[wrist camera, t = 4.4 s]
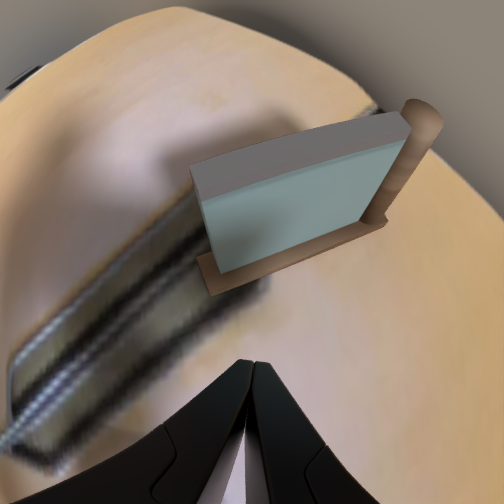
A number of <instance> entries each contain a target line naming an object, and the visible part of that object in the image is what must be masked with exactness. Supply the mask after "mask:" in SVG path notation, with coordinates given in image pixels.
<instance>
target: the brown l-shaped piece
mask: <svg viewBox="0 0 504 504" xmlns="http://www.w3.org/2000/svg"><path fill="white" fill-rule="evenodd" d="M400 115H401V116H402V117H403V118H404V119H405V121H406V122H407V123H408V124H409V125H410V127H411V128H412V130H411V132H410V134H409V136H408V137H407V139H406V141H405V143H404V145H403V146H402V148H401V150H400V152H399V153H398V155H397V157H396V159H395V160H394V162H393V164H392V166H391V167H390V169H389V171H388V173H387V174H386V176H385V178H384V179H383V181H382V183H381V184H380V186H379V188H378V189H377V191H376V193H375V194H374V196H373V198H372V199H371V201H370V203H369V204H368V206H367V207H366V209H365V211H364V212H363V214H362V216H361V217H360V219H359V220H358V221H357V222H354V223H351V224H349V225H346V226H344V227H341V228H339V229H336V230H334V231H331V232H329V233H326V234H324V235H321V236H319V237H316V238H313V239H311V240H308V241H306V242H303V243H301V244H298V245H296V246H293V247H290V248H288V249H285V250H283V251H280V252H278V253H275V254H272V255H270V256H267V257H265V258H262V259H260V260H257V261H254V262H252V263H249V264H247V265H244V266H241V267H239V268H236V269H234V270H231V271H228V272H226V273H223V274H221V273H220V270H219V268H218V265H217V263H216V260H215V258H214V254H213V251H210V252H208V253H205V254H202V255H200V256H197V257H196V259H197V261H198V264H199V267H200V270H201V272H202V275H203V278H204V280H205V283H206V286H207V288H208V291H209V293H210V295H211V297H212V296H215V295H217V294H220V293H223V292H225V291H228V290H230V289H233V288H236V287H238V286H241V285H243V284H246V283H248V282H251V281H253V280H256V279H258V278H261V277H264V276H266V275H269V274H271V273H274V272H276V271H279V270H281V269H284V268H286V267H289V266H291V265H293V264H296V263H298V262H301V261H303V260H306V259H308V258H311V257H313V256H316V255H318V254H320V253H323V252H325V251H328V250H330V249H333V248H335V247H337V246H340V245H342V244H345V243H347V242H349V241H352V240H354V239H356V238H359V237H361V236H364V235H366V234H368V233H371V232H373V231H375V230H378V229H380V228H382V227H384V226H385V225H386V223H387V222H388V219H387V218H386V216H385V214H384V213H385V212H386V210H387V209H388V207H389V206H390V205H391V203H392V202H393V200H394V199H395V198H396V196H397V195H398V193H399V192H400V191H401V189H402V188H403V186H404V185H405V183H406V182H407V181H408V179H409V178H410V176H411V175H412V173H413V172H414V170H415V169H416V167H417V166H418V164H419V163H420V161H421V160H422V158H423V157H424V155H425V154H426V152H427V151H428V149H429V148H430V146H431V145H432V143H433V141H434V140H435V138H436V137H437V135H438V134H439V132H440V130H441V129H442V127H443V124H444V123H443V119H442V117H441V115H440V114H439V112H438V111H437V110H436V109H435V108H433V107H432V106H431V105H429V104H428V103H426V102H424V101H421V100H418V99H409V100H407V101H406V103H405V105H404V107H403V109H402V111H401V113H400Z"/></svg>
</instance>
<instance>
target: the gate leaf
mask: <svg viewBox="0 0 504 504" xmlns="http://www.w3.org/2000/svg"><path fill="white" fill-rule="evenodd" d="M411 130H412V128H411V127H410V125H409V124H408V123H407V122H406V121H405V119H404V118H403V117H402V116H401V115H400V114H399V113H398V112H397V111H395V112H390V113H384V114H378V115H373V116H368V117H363V118H358V119H353V120H348V121H344V122H339V123H335V124H330V125H326V126H322V127H317V128H313V129H309V130H305V131H301V132H297V133H294V134H290V135H286V136H282V137H279V138H275V139H271V140H268V141H264V142H261V143H257V144H254V145H251V146H247V147H244V148H241V149H238V150H234V151H231V152H228V153H225V154H222V155H219V156H216V157H213V158H210V159H207V160H204V161H201V162H198V163H195V164H192V165H189V170H190V174H191V177H192V181H193V185H194V188H195V192H196V195H197V199H198V203H199V206H200V210H201V213H202V217H203V220H204V224H205V227H206V231H207V234H208V238H209V241H210V244H211V248H212V251H213V254H214V258H215V260H216V263H217V265H218V268H219V270H220V273H221V274H223V273H226V272H228V271H231V270H234V269H236V268H239V267H241V266H244V265H247V264H249V263H252V262H254V261H257V260H260V259H262V258H265V257H267V256H270V255H272V254H275V253H278V252H280V251H283V250H285V249H288V248H290V247H293V246H296V245H298V244H301V243H303V242H306V241H308V240H311V239H313V238H316V237H319V236H321V235H324V234H326V233H329V232H331V231H334V230H336V229H339V228H341V227H344V226H346V225H349V224H351V223H354V222H357V221H358V220H359V219H360V217H361V216H362V214H363V212H364V211H365V209H366V207H367V206H368V204H369V203H370V201H371V199H372V198H373V196H374V194H375V193H376V191H377V189H378V188H379V186H380V184H381V183H382V181H383V179H384V178H385V176H386V174H387V173H388V171H389V169H390V167H391V166H392V164H393V162H394V160H395V159H396V157H397V155H398V153H399V152H400V150H401V148H402V146H403V145H404V143H405V141H406V139H407V137H408V136H409V134H410V132H411Z"/></svg>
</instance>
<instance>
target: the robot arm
mask: <svg viewBox="0 0 504 504" xmlns="http://www.w3.org/2000/svg"><path fill="white" fill-rule="evenodd" d="M253 366H254V367H253ZM252 374H253V375H252ZM246 417H247V418H246ZM245 423H246V425H245ZM244 429H245V484H246V504H380V503H379V502H378V501H377V500H376V499H375V498H374V497H373V496H371V495H370V494H369V493H368V492H367V491H366V490H365V489H364V488H363V487H362V486H361V485H360V484H359V483H358V482H357V480H356V479H355V478H354V477H353V476H352V475H351V474H350V473H349V472H348V471H347V470H346V468H345V467H344V466H343V465H342V463H341V462H340V461H339V460H338V458H337V457H336V456H335V455H334V453H333V452H332V451H331V449H330V448H329V446H328V445H326V443H325V442H324V440H323V439H322V438H321V436H320V435H319V433H318V432H317V431H316V429H315V428H314V426H313V425H312V424H311V422H310V421H309V419H308V418H307V417H306V415H305V414H304V412H303V411H302V409H301V408H300V407H299V405H298V404H297V402H296V401H295V399H294V398H293V397H292V395H291V394H290V392H289V391H288V389H287V388H286V386H285V385H284V383H283V382H282V381H281V379H280V378H279V376H278V375H277V373H276V372H275V370H274V369H273V367H272V366H271V364H270V363H267V362H259V361H256V362H255V363H254V362H253V361H251V360H243V359H239V360H237V361H236V362H235V363H234V364H233V365H232V366H231V367H229V368H228V369H227V370H226V371H225V372H224V373H223V374H221V375H220V376H219V377H218V378H217V379H216V380H214V381H213V382H212V383H211V384H210V385H209V386H207V387H206V388H205V389H204V390H203V391H202V392H200V393H199V394H198V395H197V396H196V397H194V398H193V399H192V400H191V401H190V402H188V403H187V404H186V405H185V406H184V407H182V408H181V409H180V410H179V411H177V412H176V413H175V414H174V415H172V416H171V417H170V418H169V419H167V420H166V421H165V422H164V423H163V424H160V425H159V426H158V427H157V428H155V429H154V430H153V431H151V432H150V433H149V434H147V435H146V436H145V437H143V438H142V439H140V440H139V441H138V442H136V443H135V444H133V445H131V446H130V447H128V448H126V449H125V450H123V451H121V452H120V453H118V454H116V455H114V456H113V457H111V458H109V459H107V460H105V461H103V462H101V463H99V464H97V465H95V466H93V467H91V468H89V469H87V470H85V471H83V472H81V473H79V474H77V475H75V476H73V477H71V478H69V479H67V480H65V481H63V482H60V483H58V484H56V485H54V486H52V487H49V488H47V489H45V490H42V491H40V492H38V493H35V494H33V495H31V496H28V497H26V498H23V499H21V500H18V501H15V502H13V503H10V504H221V502H222V499H223V496H224V493H225V490H226V487H227V484H228V481H229V478H230V475H231V472H232V469H233V466H234V463H235V460H236V456H237V453H238V450H239V447H240V444H241V441H242V437H243V434H244Z"/></svg>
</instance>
